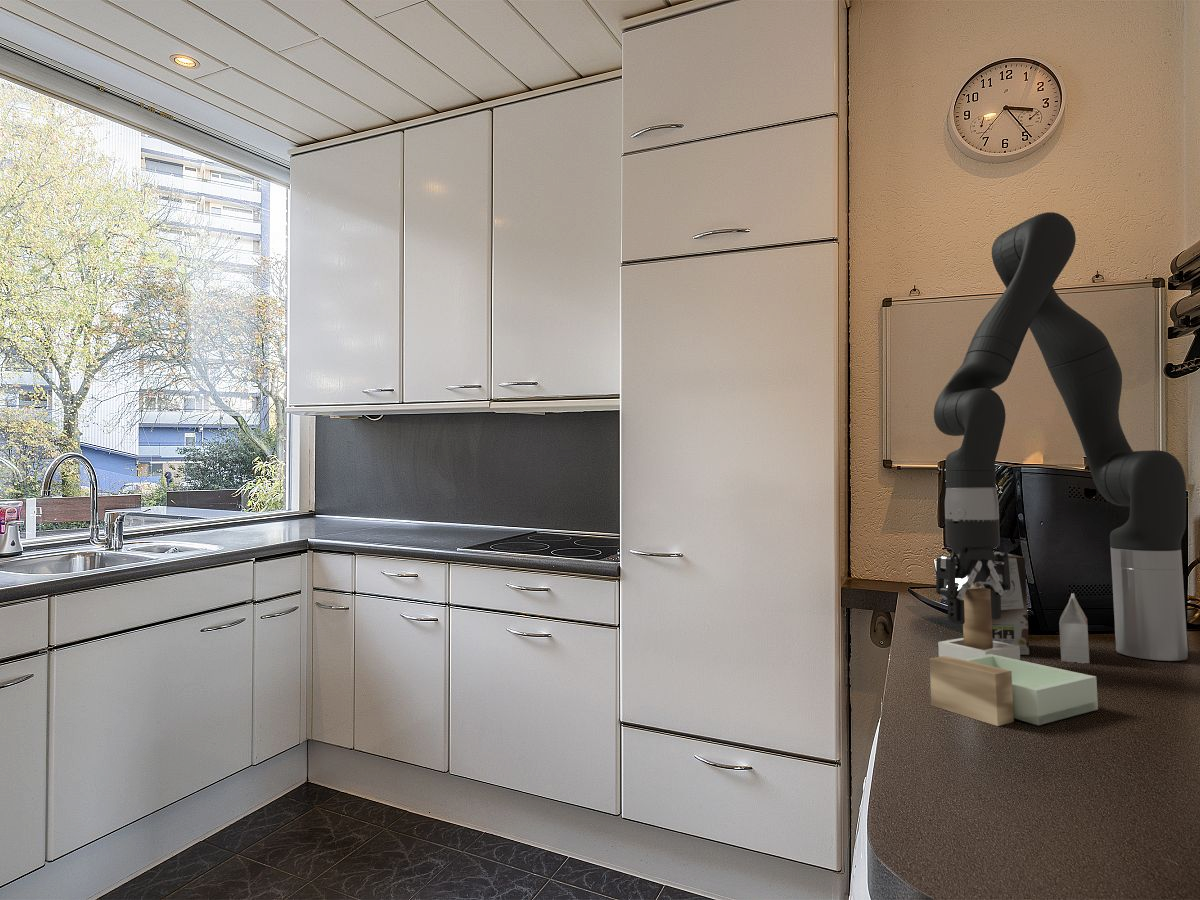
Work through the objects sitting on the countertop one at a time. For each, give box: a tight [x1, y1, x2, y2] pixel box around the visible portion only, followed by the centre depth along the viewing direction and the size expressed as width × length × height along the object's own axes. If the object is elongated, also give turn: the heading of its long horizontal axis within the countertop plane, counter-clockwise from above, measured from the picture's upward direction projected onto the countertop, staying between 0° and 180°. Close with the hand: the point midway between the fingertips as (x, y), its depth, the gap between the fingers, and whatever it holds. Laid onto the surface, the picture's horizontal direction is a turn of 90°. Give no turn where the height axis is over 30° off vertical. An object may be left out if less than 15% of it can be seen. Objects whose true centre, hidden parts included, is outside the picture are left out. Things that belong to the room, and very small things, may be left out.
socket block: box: [937, 637, 1021, 660], centre depth 110 cm, size 8×8×4 cm
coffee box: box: [971, 552, 1030, 656], centre depth 122 cm, size 9×6×16 cm
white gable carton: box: [1058, 592, 1090, 664], centre depth 114 cm, size 4×7×10 cm, turn 146°
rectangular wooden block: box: [928, 656, 1015, 727], centre depth 88 cm, size 3×9×6 cm, turn 26°
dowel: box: [961, 587, 993, 650], centre depth 110 cm, size 4×4×12 cm
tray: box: [962, 654, 1099, 726], centre depth 91 cm, size 12×14×4 cm
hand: (975, 621), depth 110 cm, fingers open, 8 cm apart
